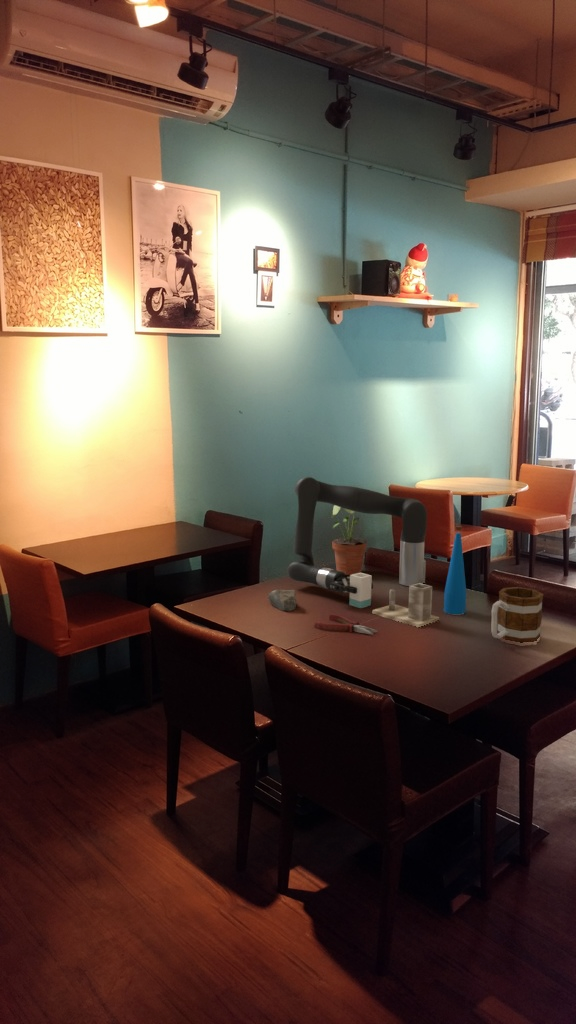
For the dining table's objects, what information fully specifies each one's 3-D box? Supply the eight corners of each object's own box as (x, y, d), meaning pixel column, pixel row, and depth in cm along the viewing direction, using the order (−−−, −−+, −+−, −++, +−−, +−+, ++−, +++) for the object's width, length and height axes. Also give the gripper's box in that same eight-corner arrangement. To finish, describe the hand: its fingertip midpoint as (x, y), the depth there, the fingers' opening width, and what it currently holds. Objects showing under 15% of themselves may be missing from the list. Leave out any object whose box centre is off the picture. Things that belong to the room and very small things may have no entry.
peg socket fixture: (372, 613, 270) (373, 579, 268) (393, 607, 277) (394, 573, 275) (418, 627, 255) (420, 591, 253) (439, 620, 263) (440, 585, 261)
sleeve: (349, 604, 279) (350, 575, 277) (359, 601, 283) (360, 572, 281) (360, 608, 276) (361, 578, 274) (370, 605, 279) (371, 575, 277)
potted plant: (340, 565, 334) (342, 484, 328) (372, 571, 325) (374, 488, 319) (321, 573, 322) (322, 489, 315) (353, 579, 313) (355, 493, 306)
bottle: (454, 616, 267) (459, 529, 262) (439, 610, 273) (443, 525, 268) (469, 613, 271) (474, 527, 266) (454, 607, 277) (459, 523, 272)
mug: (514, 629, 255) (517, 584, 253) (549, 640, 244) (553, 594, 242) (473, 640, 244) (476, 594, 241) (508, 653, 233) (511, 605, 230)
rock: (265, 602, 282) (265, 584, 281) (286, 599, 286) (286, 582, 285) (284, 612, 270) (285, 594, 269) (305, 609, 275) (306, 591, 274)
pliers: (366, 641, 244) (367, 633, 243) (312, 629, 255) (312, 621, 255) (384, 631, 253) (384, 623, 253) (331, 620, 264) (331, 612, 264)
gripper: (318, 572, 283) (351, 582, 271) (345, 566, 293) (378, 574, 281) (317, 592, 284) (350, 602, 273) (344, 585, 294) (377, 595, 282)
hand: (364, 588), depth 277 cm, fingers open, 8 cm apart
